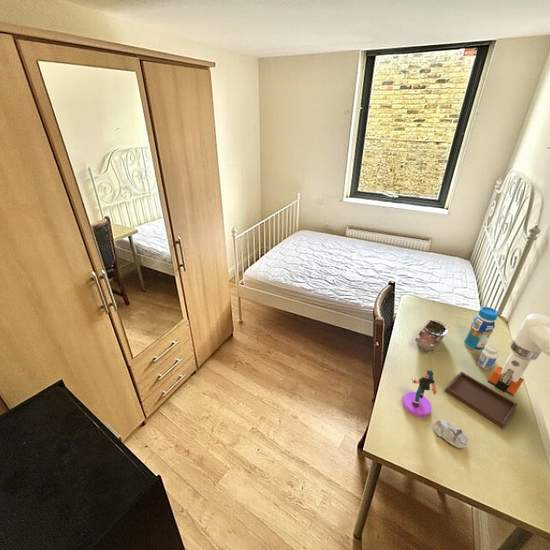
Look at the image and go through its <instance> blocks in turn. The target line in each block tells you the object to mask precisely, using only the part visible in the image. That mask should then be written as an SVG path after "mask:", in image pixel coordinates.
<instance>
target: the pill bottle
mask: <svg viewBox="0 0 550 550" xmlns="http://www.w3.org/2000/svg"><path fill="white" fill-rule="evenodd" d="M498 352H499V349H498V348H497V347H496V346H494V345H491V344H488V345H486V346H485V348H484V349H483V350H481V353H480V355H479V357H478V359H477V362H476V363H477V365H478V367H480V368H481V369H483V370H487V371H488V370H491V369H492V368H493V367H494V365H495V363H496V361H497V359H498Z"/></svg>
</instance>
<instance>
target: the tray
mask: <svg viewBox="0 0 550 550" xmlns="http://www.w3.org/2000/svg"><path fill="white" fill-rule="evenodd" d="M444 392H445V393H447V394H448V395H450V396H451V397H453V398H454V399H456V400H458V401H459V402H460V403H462V404H463V405H465V406H467V407H468V408H470V409H471V410H473V411H475V412H476V413H477V414H479V415H480V416H481V417H483V418H485V419H486V420H488V421H490V422H491V423H493V424H494V425H496V426H497V427H499V428H500V429H504V427H505V426H506V424H507V422H508V421H509V419H510V417H511V416H512V414H513V412H514V411H515V409H516V408H517V405H518V403H516V402H514V401H513V400H511V399H509V398H507V397H506V396H504V395H503V394H501V393H499V392H497V391H496V390H494V389H492V388H491V387H488V386H487V385H485V384H484V383H482V382H480V381H479V380H477V379H475V378H474V377H472V376H470V375H469V374H466V373H465V372H463V371H460V372H459V373H458V374H457V376H456V377H455V378H454V379H453V380H452V381H451V382H450V383H449V384H448V385H447V386H446V388H445V390H444Z"/></svg>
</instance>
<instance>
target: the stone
mask: <svg viewBox="0 0 550 550" xmlns="http://www.w3.org/2000/svg"><path fill="white" fill-rule="evenodd" d="M433 430H434V432H435V434H437V436H438V437H439V438H442V439H444V440H445V441H446V442H447V443H449V444H450V445H452V446H454V447H455V448H457V449H465V448H466V447H467V446H466V445H467V442H468V438H467V435H466V434H465V433H464V432H463V429H460V428H459V427H457V426H455V425H453V424H451V423H450V422H448V421H446V420H445V419H438V420H437V422H436V423H435V426H434V427H433Z"/></svg>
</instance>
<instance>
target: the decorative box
mask: <svg viewBox="0 0 550 550" xmlns="http://www.w3.org/2000/svg"><path fill="white" fill-rule="evenodd" d="M449 328H450V326H448V325H447V324H445V323H444V322H442V321H440V320H436V319H433V318H431V319H427V320H426V321H425V323H424V325H423V328H422V329H421V330H419V333H418V334H417V335H416V337H415V339H414V341H415V342H416V346H417V347H418V348H420V350H421V351H426V352H431V351H435V350H436V348H437V347H438V345H439V344H440V343H441V342H442V340H444V338H445V337H446V335H447V333H448V332H449Z"/></svg>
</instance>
